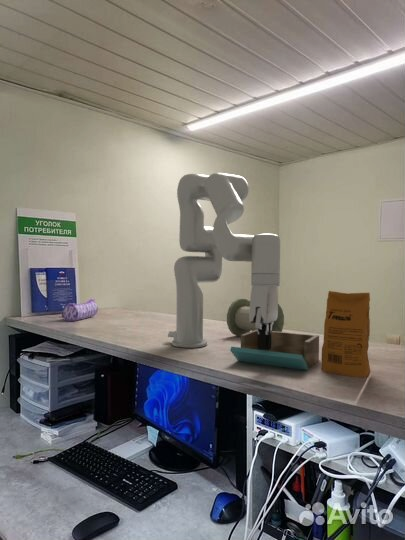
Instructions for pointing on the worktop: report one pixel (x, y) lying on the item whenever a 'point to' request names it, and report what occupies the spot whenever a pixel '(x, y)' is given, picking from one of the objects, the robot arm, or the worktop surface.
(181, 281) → the robot arm
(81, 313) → the pencil case
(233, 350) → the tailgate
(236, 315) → the spool
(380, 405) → the worktop surface
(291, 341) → the crate
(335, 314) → the coffee package
